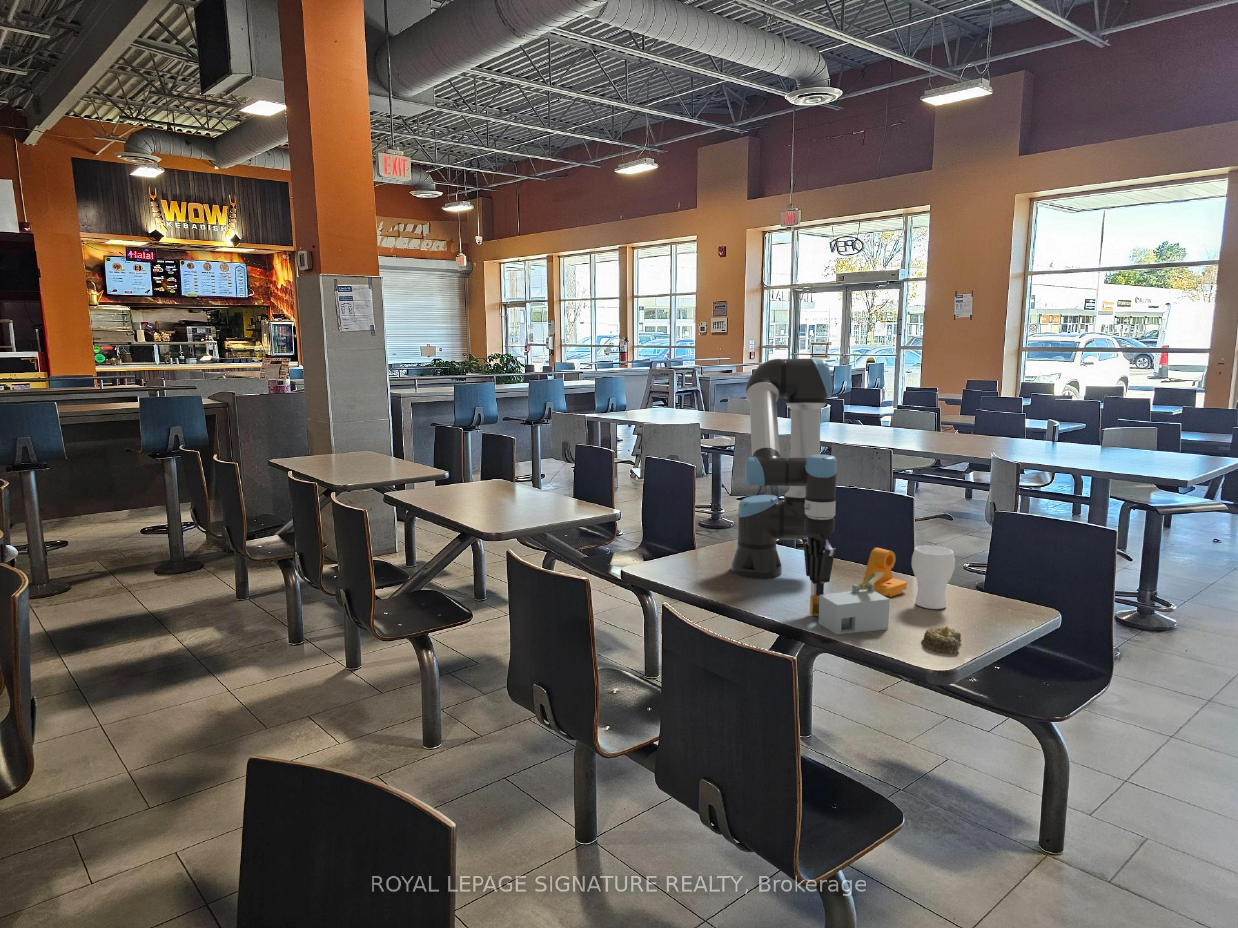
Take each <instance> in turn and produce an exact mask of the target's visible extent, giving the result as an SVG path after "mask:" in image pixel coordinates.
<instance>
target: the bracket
mask: <svg viewBox="0 0 1238 928" xmlns="http://www.w3.org/2000/svg"><path fill="white" fill-rule="evenodd" d="M869 554H870V555H869V558H868V562H867V565H866V568H865V569H866V570H865V572H864V575H863V580H862V582H863V581H865V580H866V579H867V578H868V577H869V576H870V575H872V574H873V573H874V572H883V574H884V575H883V576H882V577H881V578H880V579H878V580H877V581H876V582H875V583H874V591H875V592H877V593H879V594H881V595H883V596H885V597H887V598H891V597H894V596H895V597H896V596H897V595H900V594H903V591H905V590H907V581H904V580H902V579H898V578H894V577H893V574H892V569H893V568H894V566H895V563H896V559H897V558H896V553H895V552H894V551H893V550H888V549H885V548H880V547H874V548H873V549H872V550H871V551H870V553H869ZM862 590H867V589H862Z"/></svg>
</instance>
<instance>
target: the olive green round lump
mask: <svg viewBox="0 0 1238 928" xmlns="http://www.w3.org/2000/svg"><path fill="white" fill-rule="evenodd" d="M920 645H921V646H922V645H923V646H922V647H924V648H925V649H927V650H929V651H931V650H932V652H935V653H938V652H939V654H947V655H960V651H959V649H960V646H963V644H962V634H961V632H960V631H958V630H955V629H954V628H951V627H948V625H946V626H945V627H944V626H943V627H940V626H935V627H930V628H928V629H926V630H925V632H924V635H923V638H922V639H921V642H920Z"/></svg>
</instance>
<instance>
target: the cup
mask: <svg viewBox="0 0 1238 928" xmlns="http://www.w3.org/2000/svg"><path fill="white" fill-rule="evenodd" d="M913 550H914V551H913V553H912V555H911V568H912V571H913V575H914V576H915V578H916V582H917V592H916V595H915V596H916V597H915V601H914V603H915V604H916V605H917V606H919V607H920V608H921V607H922V608H925V609H931V610H940V609H945V608H946V607H947V597H946V591H947V585H948V583H949V581H950V580H951V578H952V576H953V574H954V571H955V566H956V559H955V558H956V557H955V555H954V554H955V553H954V551H953V549H951V548H949V547H944V546H939V545H931V544H930V545H929V544H928V545H917V546H916V547H914V549H913Z"/></svg>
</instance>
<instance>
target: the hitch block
mask: <svg viewBox="0 0 1238 928" xmlns="http://www.w3.org/2000/svg"><path fill="white" fill-rule="evenodd" d="M858 585H859V584H856V583H854V584H852V589H851V590H850V591H849V590H848V591H843V592H842V591H841V592H832V593H824V594H822V595H820V597H819V615H818V624H820V625H821V626H823V628H826V629H827V630H829V631H830V632H831V633H833V634H835V635H842V634H852V633H853V634H854V633H862V632H863V633H864V632H873V631H882V630H883V631H885V630H889V620H890V601H891V600H890V599H891V598H890V597H888V596H885V595H881V594H879V593H877V592H875V591H874V584H872V585H871V586H870V589H867V590H863V589H861V590H859V586H858ZM842 618H850V627H848V628H841V621H842Z"/></svg>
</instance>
